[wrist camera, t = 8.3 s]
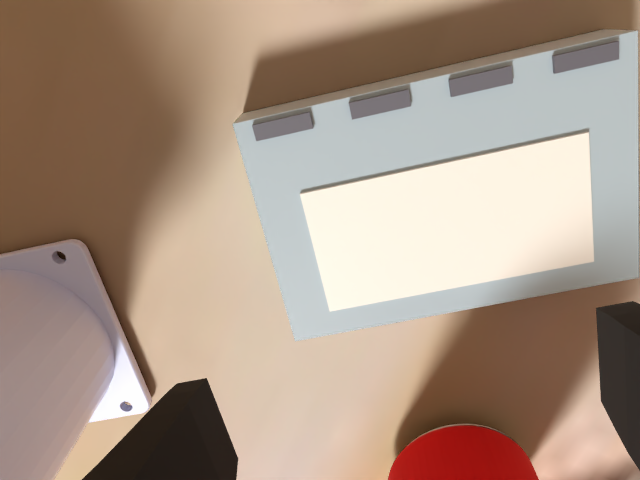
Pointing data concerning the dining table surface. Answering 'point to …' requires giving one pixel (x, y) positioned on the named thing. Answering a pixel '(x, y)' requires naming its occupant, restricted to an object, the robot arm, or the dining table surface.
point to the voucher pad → (452, 185)
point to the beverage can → (462, 456)
